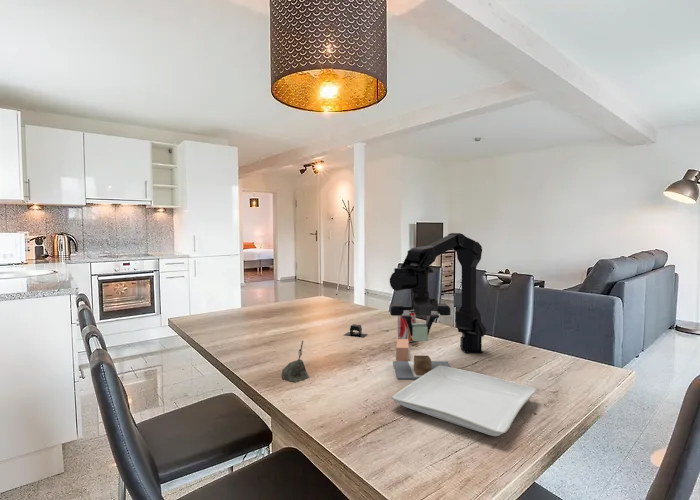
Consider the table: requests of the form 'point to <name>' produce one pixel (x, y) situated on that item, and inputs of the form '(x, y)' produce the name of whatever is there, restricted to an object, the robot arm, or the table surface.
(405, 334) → the soda can
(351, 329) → the black angular block
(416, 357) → the walnut cube
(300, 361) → the sword in stone
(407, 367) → the mat
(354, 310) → the table surface
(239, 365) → the table surface
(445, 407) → the square plate
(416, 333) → the green cube
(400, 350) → the cap block
